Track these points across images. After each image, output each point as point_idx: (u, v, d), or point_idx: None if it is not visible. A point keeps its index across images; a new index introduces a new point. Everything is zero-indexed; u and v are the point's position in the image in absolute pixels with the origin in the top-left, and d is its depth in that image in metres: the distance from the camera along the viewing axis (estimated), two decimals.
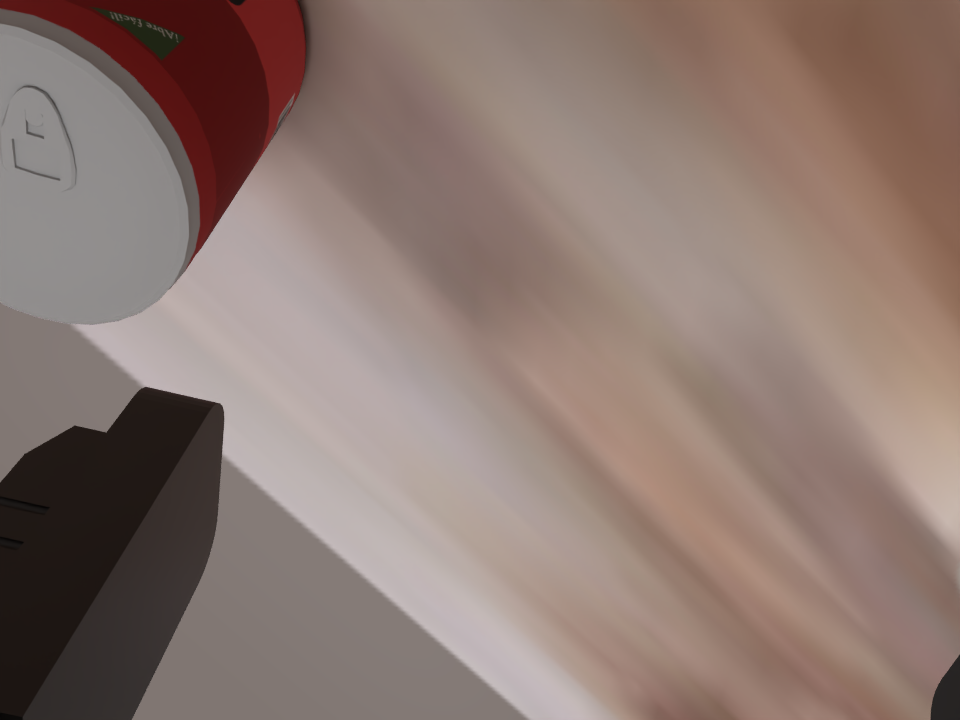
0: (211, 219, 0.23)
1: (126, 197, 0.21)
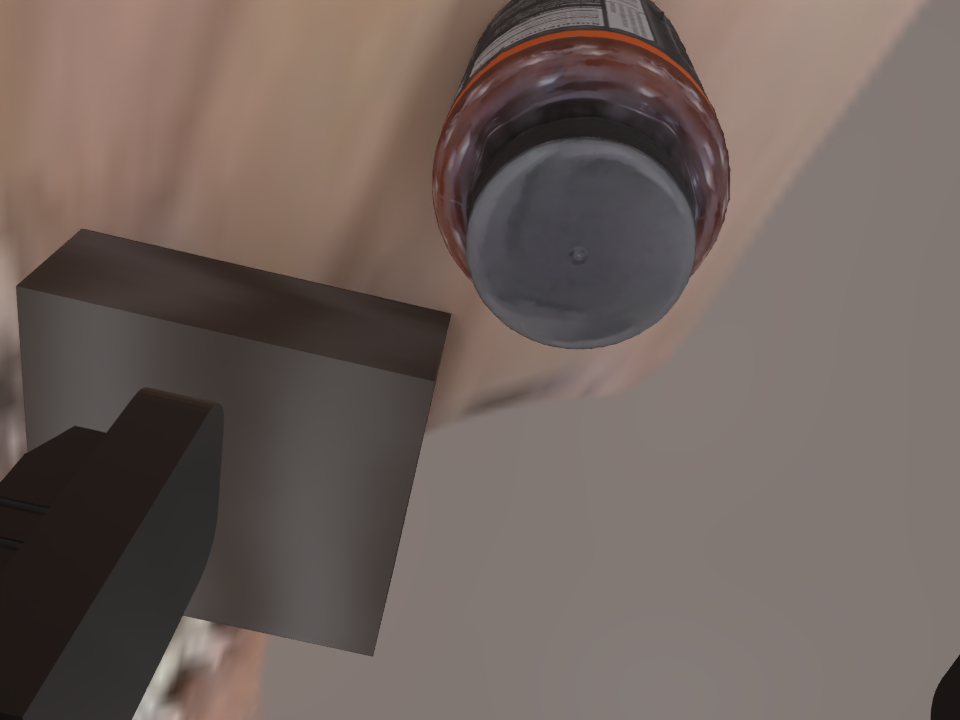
0: None
1: None
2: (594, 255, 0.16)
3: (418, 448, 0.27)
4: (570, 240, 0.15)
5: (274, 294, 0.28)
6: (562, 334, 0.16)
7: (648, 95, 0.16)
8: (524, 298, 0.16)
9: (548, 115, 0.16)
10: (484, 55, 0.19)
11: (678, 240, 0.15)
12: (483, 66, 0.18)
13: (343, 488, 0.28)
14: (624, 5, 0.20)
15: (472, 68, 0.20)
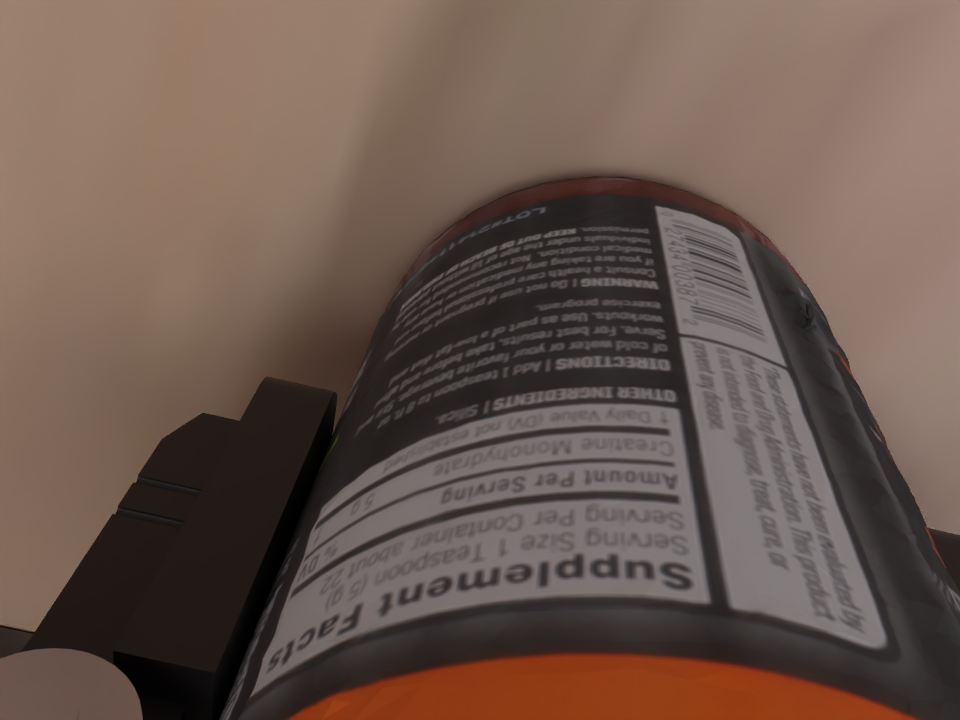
0: None
1: None
2: None
3: None
4: None
5: None
6: None
7: None
8: None
9: None
10: (322, 558, 0.06)
11: None
12: (286, 690, 0.05)
13: None
14: (732, 346, 0.07)
15: (297, 565, 0.07)
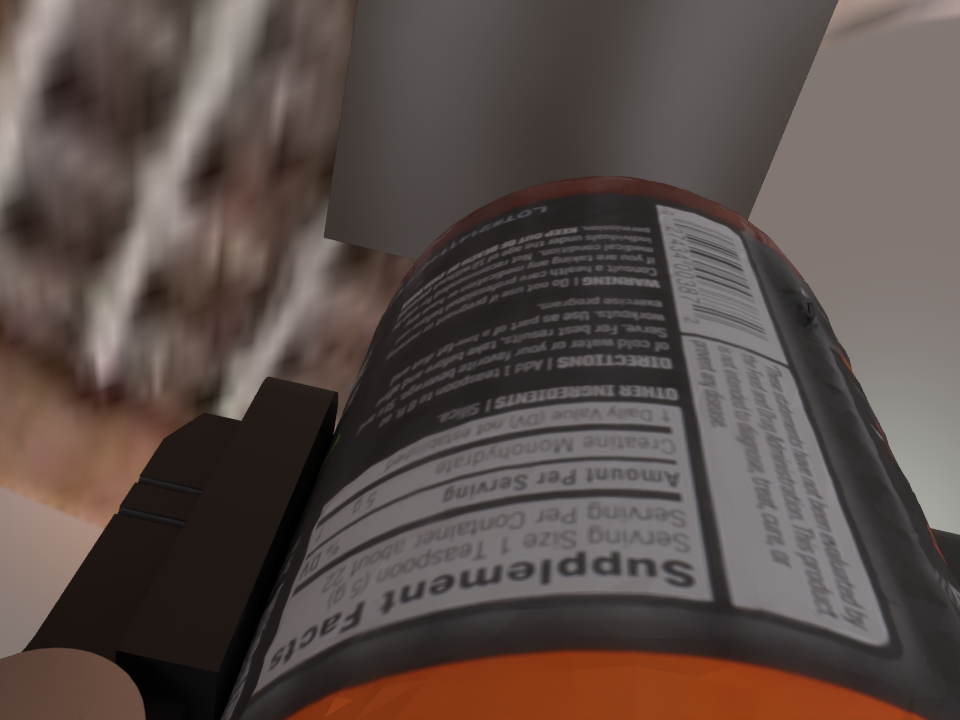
0: None
1: None
2: None
3: (829, 17, 0.23)
4: None
5: None
6: None
7: None
8: None
9: None
10: (324, 556, 0.06)
11: None
12: (288, 688, 0.05)
13: (724, 81, 0.24)
14: (733, 344, 0.07)
15: (299, 564, 0.07)
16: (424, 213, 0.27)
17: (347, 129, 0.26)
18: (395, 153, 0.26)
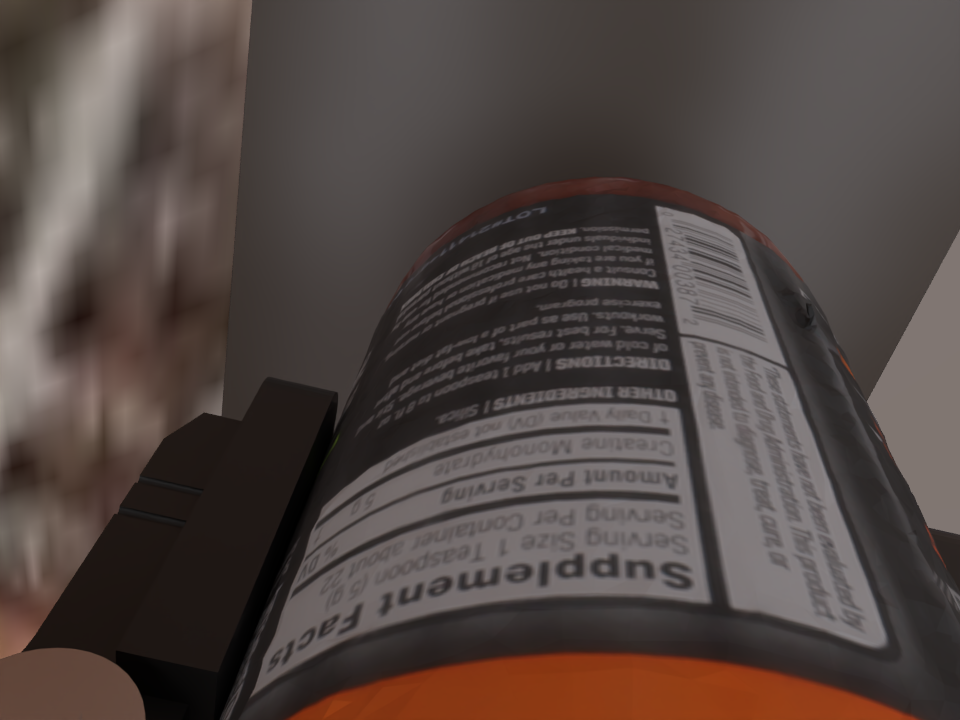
0: None
1: None
2: None
3: None
4: None
5: None
6: None
7: None
8: None
9: None
10: (322, 557, 0.06)
11: None
12: (286, 690, 0.05)
13: (827, 231, 0.15)
14: (732, 346, 0.07)
15: (298, 565, 0.07)
16: None
17: (243, 296, 0.17)
18: (317, 329, 0.17)
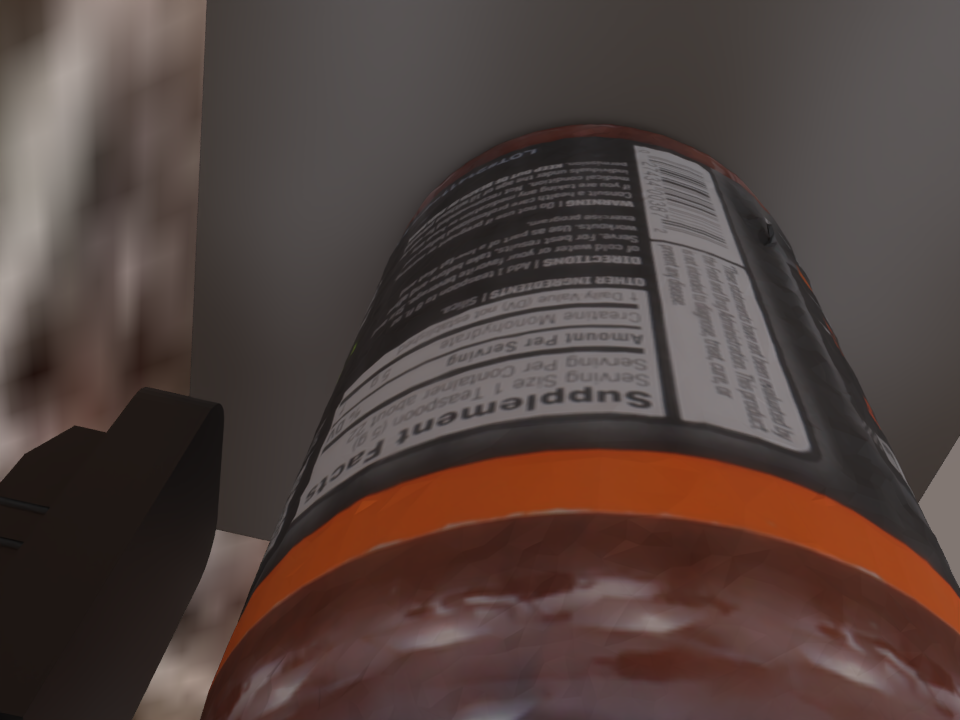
0: None
1: None
2: None
3: None
4: None
5: None
6: None
7: None
8: None
9: None
10: (347, 420, 0.07)
11: None
12: (323, 508, 0.06)
13: (888, 297, 0.13)
14: (696, 249, 0.09)
15: (325, 435, 0.08)
16: None
17: (205, 366, 0.15)
18: (291, 404, 0.15)
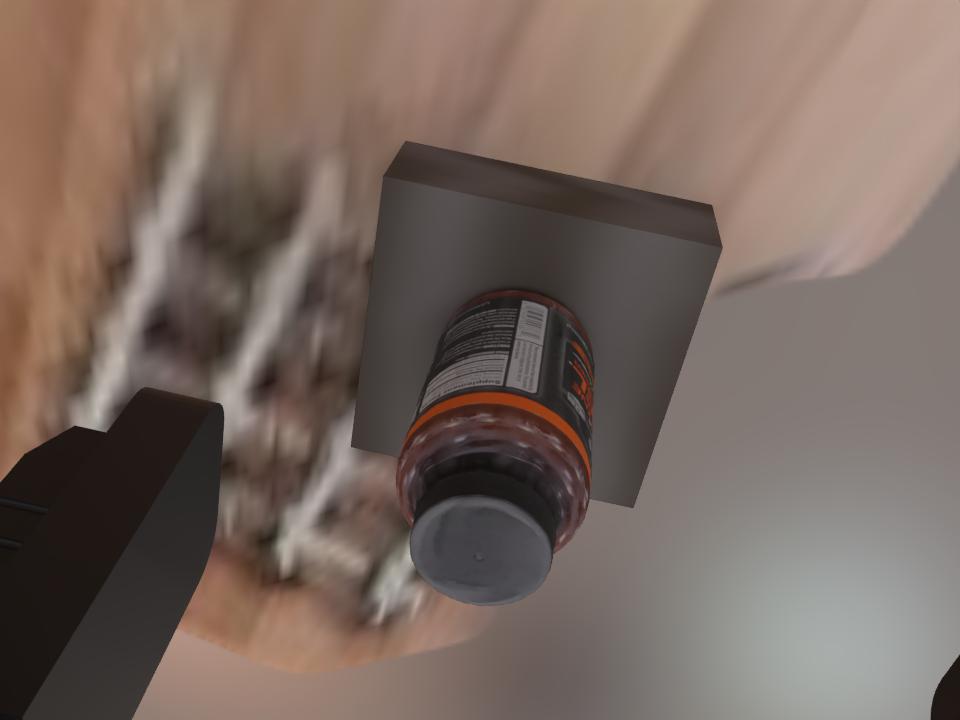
0: None
1: None
2: (489, 557, 0.25)
3: (700, 309, 0.33)
4: (473, 549, 0.25)
5: (572, 187, 0.34)
6: (475, 599, 0.26)
7: (524, 446, 0.26)
8: (449, 579, 0.26)
9: (460, 463, 0.26)
10: (431, 390, 0.29)
11: (538, 550, 0.25)
12: (426, 408, 0.28)
13: (630, 348, 0.34)
14: (528, 341, 0.30)
15: (424, 394, 0.29)
16: None
17: (364, 378, 0.36)
18: (399, 393, 0.36)
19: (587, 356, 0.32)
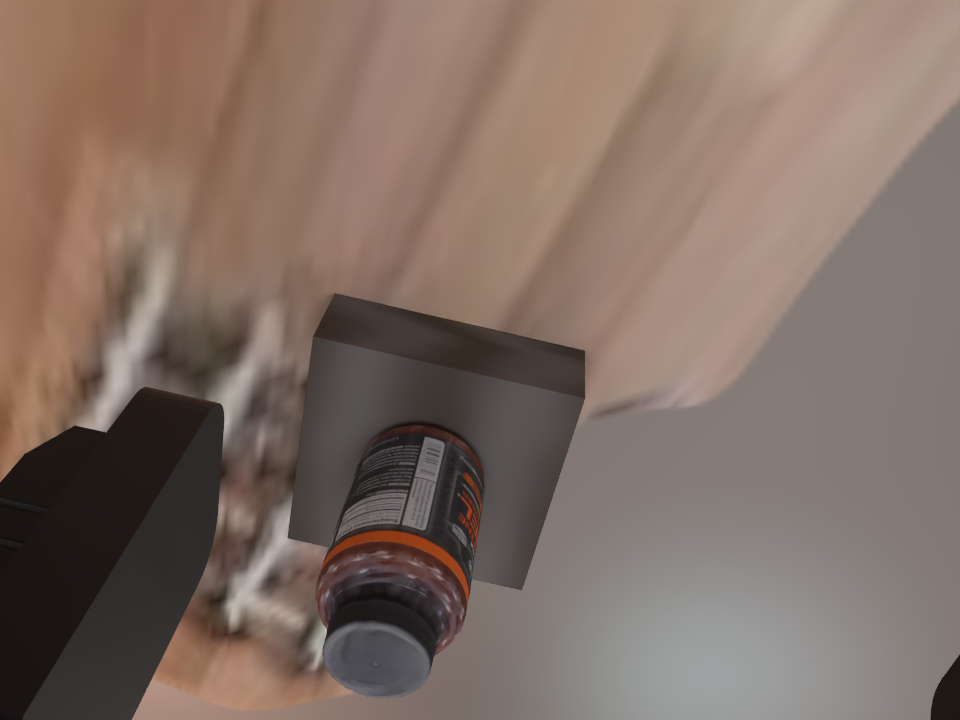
0: None
1: None
2: (382, 664, 0.33)
3: (569, 442, 0.41)
4: (370, 658, 0.33)
5: (469, 339, 0.42)
6: (373, 693, 0.34)
7: (412, 577, 0.33)
8: (353, 679, 0.33)
9: (362, 591, 0.33)
10: (345, 520, 0.36)
11: (420, 660, 0.32)
12: (340, 539, 0.35)
13: (515, 469, 0.42)
14: (425, 479, 0.37)
15: (341, 522, 0.37)
16: None
17: (299, 486, 0.44)
18: (328, 498, 0.44)
19: (476, 482, 0.40)
